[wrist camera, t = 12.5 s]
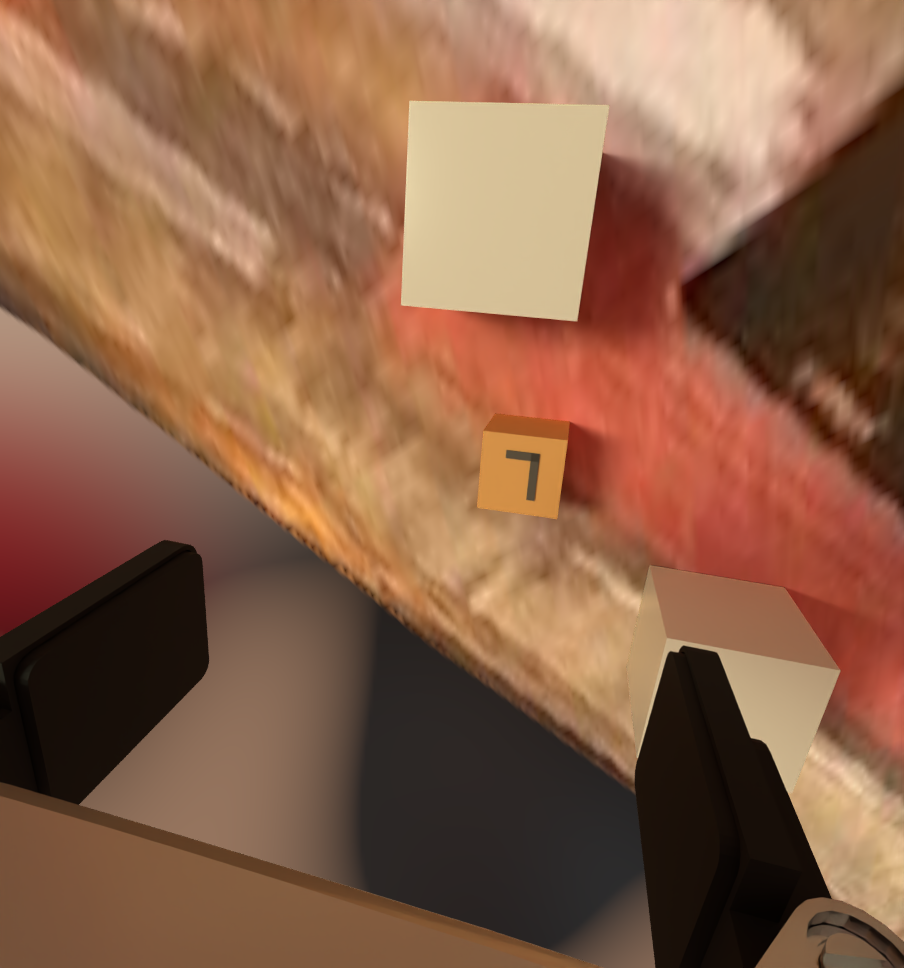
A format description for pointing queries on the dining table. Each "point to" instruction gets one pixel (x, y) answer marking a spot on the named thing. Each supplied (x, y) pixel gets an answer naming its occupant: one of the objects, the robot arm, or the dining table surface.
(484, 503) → the letter cube
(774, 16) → the dining table surface
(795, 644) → the cover empty
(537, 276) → the cover cube
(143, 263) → the dining table surface
